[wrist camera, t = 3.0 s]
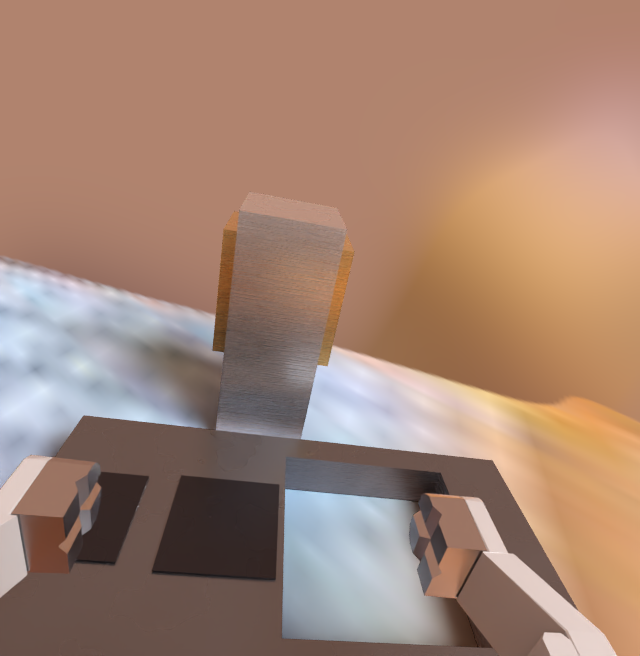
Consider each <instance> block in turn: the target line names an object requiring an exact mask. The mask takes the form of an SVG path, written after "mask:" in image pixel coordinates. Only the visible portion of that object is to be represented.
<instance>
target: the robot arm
mask: <svg viewBox="0 0 640 656" xmlns="http://www.w3.org/2000/svg"><path fill="white" fill-rule="evenodd" d="M100 474H101V472H100V464H99V463H97V462H90V461H82V460H74V459H65V458H57V457H46V456H37V455H30V456H28V457H27V458H25V459H24V460H23V461H22V462H21V463H20V465H19V466H18V467H17V468H16V470H15V471H14V472H13V474H12V475H11V476H10V477H9V479H8V480H7V481H6V482H5V484H4V485H3V486H2V488H1V489H0V598H1V597H2V596H3V595H4V594H5V593H6V592H8V591H9V590H10V589H11V588H12V587H14V586H15V585H16V584H17V583H18V582H20V581H21V580H22V579H23V578H24V577H26V576H27V572H34V573H64V574H69V573H70V571H71V569H72V567H73V565H74V563H75V561H76V559H77V557H78V555H79V553H80V551H81V549H82V547H83V541H82V535H83V534H85V533H86V532H87V531H89V530H90V529H91V528H92V526H93V524H94V522H95V520H96V518H97V514H98V511H99V508H100V504H101V496H102V490H101V486H100V485H99V484H98V483H97V480H98V478H99V476H100ZM418 504H419V507H420V511H418V512H417V513H415V514H414V515H413V517H412V520H411V523H410V532H409V537H410V544H411V548H412V552H413V554H414V555H415V556H416V557H417V558H418V559H419V560H420V561H421V562H420V564H419V566H418V569H417V571H418V574H419V578H420V582H421V585H422V589H423V592H424V595H425V596H436V597H446V598H457V600H456V601H457V602H458V603H459V604H460V606H461V607H462V608H463V610H464V611H465V612H466V614H467V615H468V616H469V617H470V619H471V620H472V621H473V623H474V624H475V625H476V626H477V628H478V629H479V630H480V632H481V633H482V634H483V635H484V637H485V638H486V639H487V641H488V642H489V643H490V645H491V646H492V647H493V648H494V650H495V651H496V652H497V654H498V655H499V656H617V655H616V653H615V652H614V650H613V648H612V647H611V645H610V643H609V642H608V640H607V638H606V637H605V635H604V634H603V633H602V632H601V631H600V630H599V629H598V628H597V627H596V626H594V625H593V624H592V623H591V622H590V621H589V620H588V619H587V618H585V617H584V616H583V615H582V614H581V613H580V612H579V611H577V610H576V609H575V608H574V607H573V606H572V605H571V604H570V603H568V602H567V601H566V600H565V599H564V598H563V597H562V596H561V595H559V594H558V593H557V592H556V591H555V590H554V589H553V588H552V587H550V586H549V585H548V584H547V583H546V582H545V581H544V580H543V579H541V578H540V577H539V576H538V575H537V574H536V573H535V572H534V571H532V570H531V569H530V568H529V567H528V566H527V565H526V564H525V563H523V562H522V561H521V560H520V559H519V558H518V557H517V556H516V555H514V554H510V553H508V552H507V550H506V548H505V546H504V544H503V542H502V540H501V538H500V536H499V534H498V532H497V529H496V527H495V525H494V523H493V521H492V519H491V517H490V515H489V513H488V511H487V509H486V507H485V505H484V503H483V501H482V500H481V499H479V498H475V497H464V496H460V497H459V496H453V495H441V494H429V493H424V494H423V495H422V496H421V498H420V500H419V503H418Z"/></svg>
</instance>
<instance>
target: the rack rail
mask: <svg viewBox="0 0 640 656" xmlns="http://www.w3.org/2000/svg"><path fill="white" fill-rule="evenodd" d="M55 457H57V458H65V459H74V460H82V461H90V462H97V463H99V464H100V472H101V474H100V476H99V478H98V480H97V483H98V484H99V485H100V486H101V490H102V496H101V504H100V508H99V511H98V514H97V518H96V520H95V522H94V524H93V526H92V528H91V529H90V530H89V531H87V532H86V533H85V534H83V535H82V541H83V547H82V549H81V551H80V553H79V555H78V557H77V559H76V561H75V563H74V565H73V567H72V569H71V571H70V573H69V574H64V573H34V572H27V576H26V577H24V578H23V579H22V580H21V581H20V582H18V583H17V584H16V585H15V586H14V587H12V588H11V589H10V590H9V591H8V592H6V593H5V594H4V595H3V596H2V597H1V598H0V656H499V655H498V654H497V652H496V651H495V650H494V648H493V647H492V646H491V645H490V643H489V642H488V641H487V639H486V638H485V637H484V635H483V634H482V633H481V632H480V630H479V629H478V628H477V626H476V625H475V624H474V623H473V621H472V620H471V619H470V617H469V616H468V615H467V616H468V619H469V622H470V625H471V627H472V630H473V633H474V636H475V639H476V642H477V645H478V648H477V647H455V646H433V645H411V644H389V643H367V642H346V641H324V640H302V639H282V598H283V554H284V510H285V489H296V490H307V491H317V492H328V493H338V494H349V495H360V496H370V497H381V498H392V499H402V500H413V501H419V500H420V498H421V496H422V495H423V494H424V493H429V494H441V495H453V496H459V497H460V496H464V497H475V498H479V499H481V500H482V501H483V503H484V505H485V507H486V509H487V511H488V513H489V515H490V517H491V519H492V521H493V523H494V525H495V527H496V529H497V532H498V534H499V536H500V538H501V540H502V542H503V544H504V546H505V548H506V550H507V552H508V553H510V554H514V555H516V556H517V557H518V558H519V559H520V560H521V561H522V562H523V563H525V564H526V565H527V566H528V567H529V568H530V569H531V570H532V571H534V572H535V573H536V574H537V575H538V576H539V577H540V578H541V579H543V580H544V581H545V582H546V583H547V584H548V585H549V586H550V587H552V588H553V589H554V590H555V591H556V592H557V593H558V594H559V595H561V596H562V597H563V598H564V599H565V600H566V601H567V602H568V603H570V604H571V605H572V606H573V607H574V608H575V609H576V610H577V611H578V609H577V608H576V606H575V604H574V602H573V601H572V599H571V597H570V595H569V594H568V592H567V590H566V588H565V587H564V585H563V583H562V581H561V580H560V578H559V576H558V574H557V573H556V571H555V569H554V567H553V566H552V564H551V562H550V560H549V559H548V557H547V555H546V553H545V552H544V550H543V548H542V546H541V545H540V543H539V541H538V539H537V538H536V536H535V534H534V532H533V531H532V529H531V527H530V525H529V524H528V522H527V520H526V518H525V517H524V515H523V513H522V511H521V510H520V508H519V506H518V504H517V503H516V501H515V499H514V497H513V496H512V494H511V492H510V490H509V489H508V487H507V485H506V483H505V482H504V480H503V478H502V476H501V475H500V473H499V471H498V469H497V468H496V466H495V464H494V462H493V461H492V460H483V459H474V458H465V457H455V456H446V455H437V454H428V453H419V452H410V451H401V450H392V449H383V448H374V447H365V446H356V445H347V444H338V443H329V442H320V441H310V440H301V439H292V438H283V437H274V436H265V435H256V434H247V433H238V432H229V431H220V430H211V429H202V428H193V427H184V426H175V425H165V424H156V423H147V422H138V421H129V420H120V419H111V418H102V417H93V416H83V417H82V419H81V420H80V421H79V423H78V424H77V426H76V427H75V429H74V430H73V431H72V433H71V434H70V436H69V437H68V439H67V440H66V442H65V443H64V444H63V446H62V447H61V449H60V450H59V452H58V453H57V455H56V456H55Z"/></svg>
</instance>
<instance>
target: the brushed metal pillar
mask: <svg viewBox="0 0 640 656" xmlns="http://www.w3.org/2000/svg"><path fill="white" fill-rule="evenodd" d="M346 233H347V228H346V226H345V224H344V222H343V219H342V217H341V215H340V213H339V211H338V208H335V207H328V206H324V205H319V204H313V203H308V202H302V201H297V200H292V199H287V198H281V197H276V196H271V195H265V194H260V193H255V192H249V193H248V196H247V197H246V199H245V201H244V202H243V205H242V206H241V208H240V210H239V212H234V213H233V214H232V216H231V218H230V220H229V221H228V223H227V224H226V226H225V228H224V231H223V242H222V253H221V263H220V275H219V285H218V296H217V308H216V318H215V329H214V340H213V350H212V351H219V352H224V358H223V368H222V377H221V387H220V396H219V405H218V415H217V424H216V430H220V431H229V432H238V433H247V434H256V435H265V436H274V437H283V438H292V439H301V436H302V431H303V427H304V422H305V418H306V413H307V409H308V404H309V400H310V395H311V391H312V386H313V382H314V377H315V373H316V368H317V365H323V366H328V362H329V358H330V353H331V349H332V345H333V341H334V336H335V332H336V328H337V324H338V319H339V315H340V311H341V307H342V302H343V298H344V294H345V290H346V285H347V281H348V277H349V273H350V268H351V264H352V260H353V256H354V250H353V248H352V245H351V243H350V241H349V238H348V236H347V234H346Z"/></svg>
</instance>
